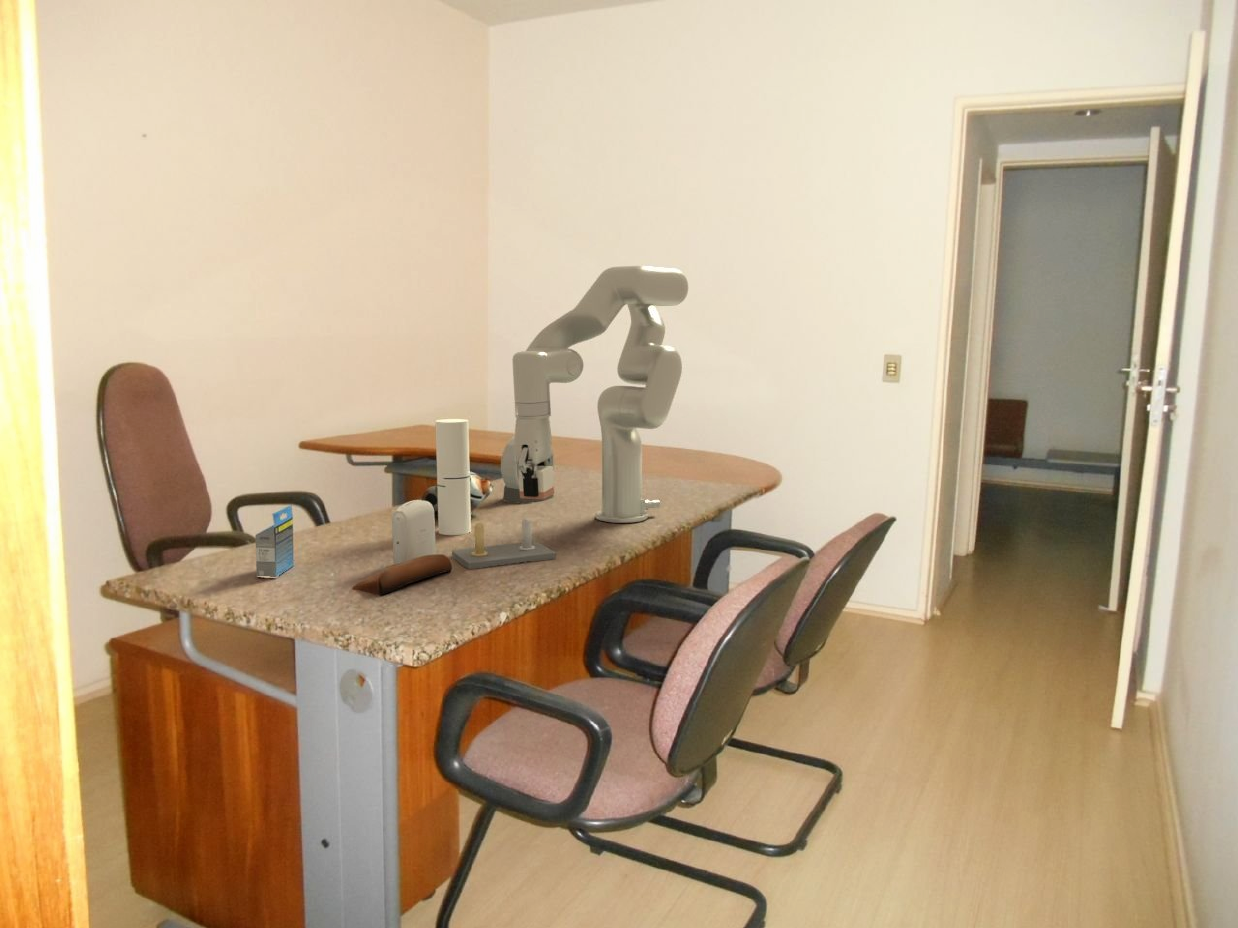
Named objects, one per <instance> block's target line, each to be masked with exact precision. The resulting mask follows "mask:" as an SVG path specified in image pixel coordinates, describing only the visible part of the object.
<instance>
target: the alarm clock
mask: <svg viewBox="0 0 1238 928" xmlns="http://www.w3.org/2000/svg"><path fill="white" fill-rule="evenodd" d="M527 463H532V461H527ZM549 466H553V472H554V470H555V453H554V449H552V455H551V457H550V462H549ZM519 470H520V468H519V467H518V464H517V463H516V462H515V435H514V436H513V437H511V438H510V439H509V440H508V442H507V443H506V445H505V446H504V449H503V452H502V455H501V459H500V473H501V474H500V475H501V477H502V480H503V483H504V484H505V485H504V487H503V488H504V489H503V499H502V500H505V501H504V502H508V501H509V502H510V503H515V502H519V503H518V504H521V503H526V504H531V503H532V502H534V503H538V502H543V501H544V502H545V501H548V500H550V499H553V498H554V497H555V496H554V495H555V494H552V495H551V496H549V497H547V498H545V499H528V498H520V488H519ZM532 504H533V503H532Z"/></svg>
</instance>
